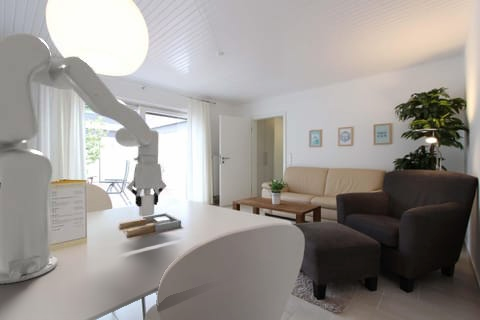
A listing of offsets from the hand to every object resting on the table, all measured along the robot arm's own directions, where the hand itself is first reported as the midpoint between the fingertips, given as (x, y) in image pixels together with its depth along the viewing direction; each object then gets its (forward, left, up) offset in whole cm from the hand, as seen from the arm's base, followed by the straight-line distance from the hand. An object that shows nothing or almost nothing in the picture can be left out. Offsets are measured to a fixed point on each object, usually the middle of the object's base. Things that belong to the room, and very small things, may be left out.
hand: (147, 204), depth 91 cm
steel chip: (0, -6, -9) cm, 11 cm away
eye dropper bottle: (0, 0, -4) cm, 4 cm away
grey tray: (0, -6, -9) cm, 11 cm away
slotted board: (0, -1, -10) cm, 10 cm away
